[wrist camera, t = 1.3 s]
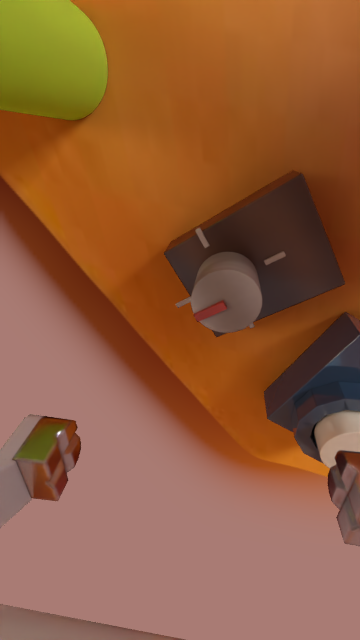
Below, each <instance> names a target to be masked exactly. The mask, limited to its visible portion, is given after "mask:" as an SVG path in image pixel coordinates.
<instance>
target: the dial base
mask: <svg viewBox="0 0 360 640" xmlns="http://www.w3.org/2000/svg"><path fill="white" fill-rule="evenodd" d="M221 252H235V253H239V254H241V255H243V256H245V257H246V258H248V259H249V260H250V261H251V262H252V263H253V265H254V266H255V268H256V270H257V273H258V278H259V283H260V288H261V293H262V308H261V311H260V313H259V315H258V317H257V318H256V320H255V321H257V320H260V319H262V318H264V317H267V316H269V315H272V314H274V313H276V312H279V311H281V310H284V309H286V308H289V307H291V306H293V305H296V304H298V303H301V302H303V301H305V300H308V299H310V298H313V297H315V296H318V295H320V294H322V293H325V292H327V291H330V290H332V289H334V288H337V287H339V286H342V285H344V284H345V281H344V278H343V276H342V273H341V271H340V268H339V266H338V263H337V260H336V258H335V255H334V253H333V250H332V248H331V245H330V243H329V240H328V237H327V235H326V232H325V230H324V227H323V225H322V222H321V219H320V217H319V214H318V212H317V209H316V207H315V204H314V201H313V199H312V196H311V194H310V191H309V189H308V186H307V184H306V181H305V178H304V176H303V174H302V173H299V172H297V171H294V170H292V171H291V172H289V173H287V174H286V175H284V176H282V177H281V178H279V179H277V180H275V181H274V182H272V183H270V184H269V185H267V186H265V187H263V188H262V189H260V190H258V191H257V192H255V193H253V194H252V195H250V196H248V197H246V198H245V199H243V200H241V201H240V202H238V203H236V204H234V205H233V206H231V207H229V208H228V209H226V210H224V211H223V212H221V213H219V214H217V215H216V216H214V217H212V218H211V219H209V220H207V221H206V222H204V223H202V224H200V225H199V226H197V227H195V228H194V229H192V230H190V231H188V232H187V233H185V234H183V235H182V236H180V237H178V238H177V239H175V240H173V241H171V243H170V244H169V246H168V247H167V249H166V251H165V252H164V255H165V256H166V258H167V260H168V261H169V263H170V264H171V266H172V267H173V269H174V271H175V272H176V274H177V275H178V277H179V279H180V280H181V282H182V283H183V285H184V287H185V288H186V290H187V291H188V293H189V294H190V297H188V298H186V299H184V300H182V301H180V302H178V303H176V306H177V307H178V308H179V307H181V306H183V305H185V304H187V303H189V302H191V295H192V291H193V288H194V284H195V280H196V277H197V273H198V270H199V268H200V266H201V265H202V264H203V262H204V261H205V260H207V259H208V258H209V257H211V256H212V255H215V254H217V253H221ZM255 321H254V322H255ZM249 327H250V328H253V327H255V326H254V324H253V323H252V324H250V325H249ZM212 331H213V333H214V334H215V336H216V337H218V336H221V335H223V334H226V333H223V332H217V331H214V330H212Z"/></svg>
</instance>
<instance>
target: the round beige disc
mask: <svg viewBox="0 0 360 640" xmlns="http://www.w3.org/2000/svg"><path fill="white" fill-rule="evenodd" d="M314 437H315V440H316V444H317V447H318V451H319V455H320V458H321V460H322V462H323V463H324V464H325V465H326V466H327V467H329V468H331V467H332V466H334V465H336V461H335V455H336V453H337V452H338V451H339V450H345V451H354V452H360V412H359V411H349V410H345V411H341V412H337V413H333V414H330V415H326V416H325V417H323V418H322V419H321V420H320V421H318V423H317V424H316V426H315V428H314Z"/></svg>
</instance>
